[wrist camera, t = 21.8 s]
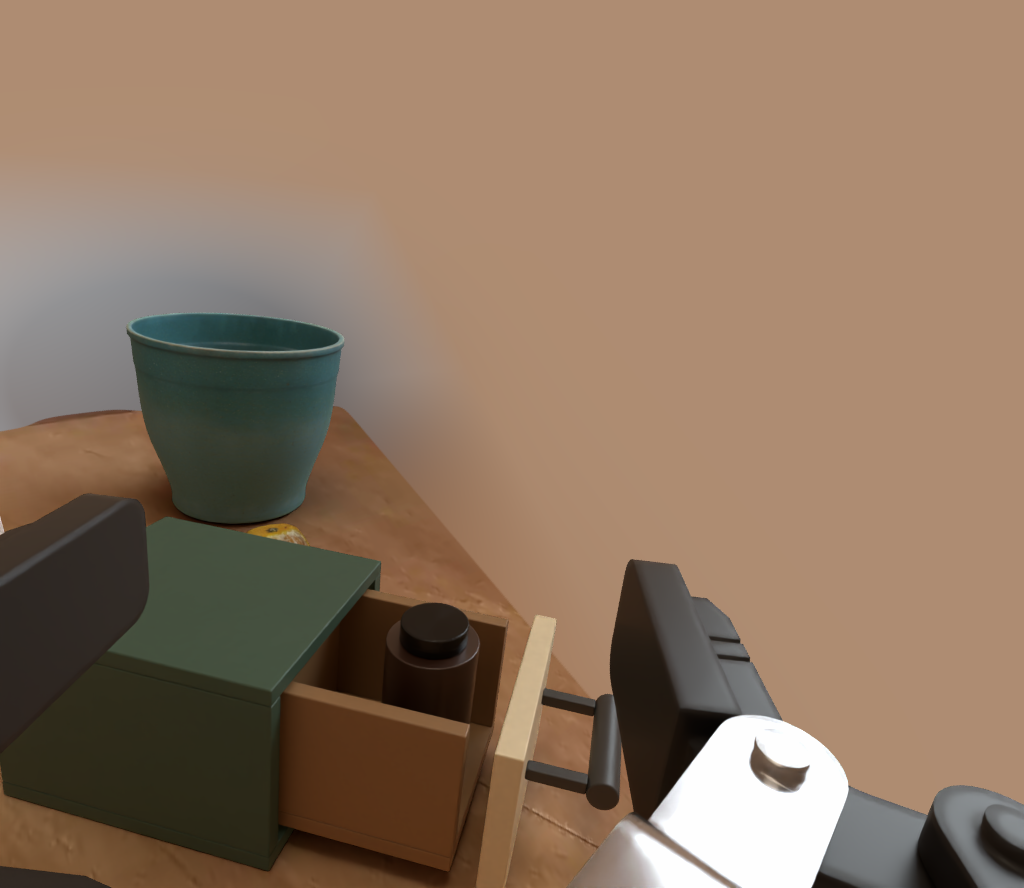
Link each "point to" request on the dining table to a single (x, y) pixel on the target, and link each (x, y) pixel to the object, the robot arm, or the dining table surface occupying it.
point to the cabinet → (193, 694)
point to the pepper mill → (432, 662)
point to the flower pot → (235, 408)
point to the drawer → (425, 746)
